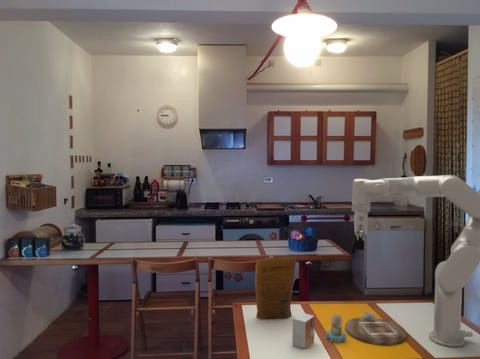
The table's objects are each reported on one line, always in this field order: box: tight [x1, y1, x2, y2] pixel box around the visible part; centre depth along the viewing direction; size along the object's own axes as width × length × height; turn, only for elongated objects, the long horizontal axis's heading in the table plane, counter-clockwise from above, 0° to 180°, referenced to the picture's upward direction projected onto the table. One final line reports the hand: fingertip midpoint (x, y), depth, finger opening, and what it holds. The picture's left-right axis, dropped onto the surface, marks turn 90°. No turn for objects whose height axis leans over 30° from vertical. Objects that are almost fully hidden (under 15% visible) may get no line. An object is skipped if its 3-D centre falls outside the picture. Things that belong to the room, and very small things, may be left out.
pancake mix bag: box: [254, 256, 297, 320], centre depth 183 cm, size 7×19×28 cm, turn 98°
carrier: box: [344, 311, 407, 346], centre depth 169 cm, size 24×24×4 cm
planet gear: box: [325, 314, 347, 344], centre depth 162 cm, size 8×8×9 cm
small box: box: [292, 312, 316, 349], centre depth 157 cm, size 8×6×10 cm
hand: (359, 247), depth 174 cm, fingers open, 9 cm apart
